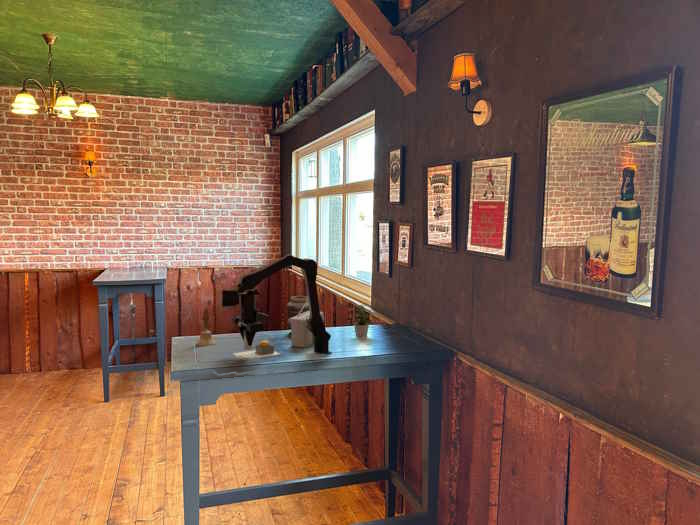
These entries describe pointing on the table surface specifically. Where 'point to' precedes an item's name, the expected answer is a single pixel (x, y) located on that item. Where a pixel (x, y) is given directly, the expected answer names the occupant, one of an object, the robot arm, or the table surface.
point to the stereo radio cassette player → (301, 330)
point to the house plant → (361, 322)
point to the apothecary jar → (297, 306)
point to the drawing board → (252, 355)
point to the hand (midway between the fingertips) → (248, 344)
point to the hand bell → (205, 332)
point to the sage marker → (246, 343)
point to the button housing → (264, 349)
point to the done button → (264, 343)
